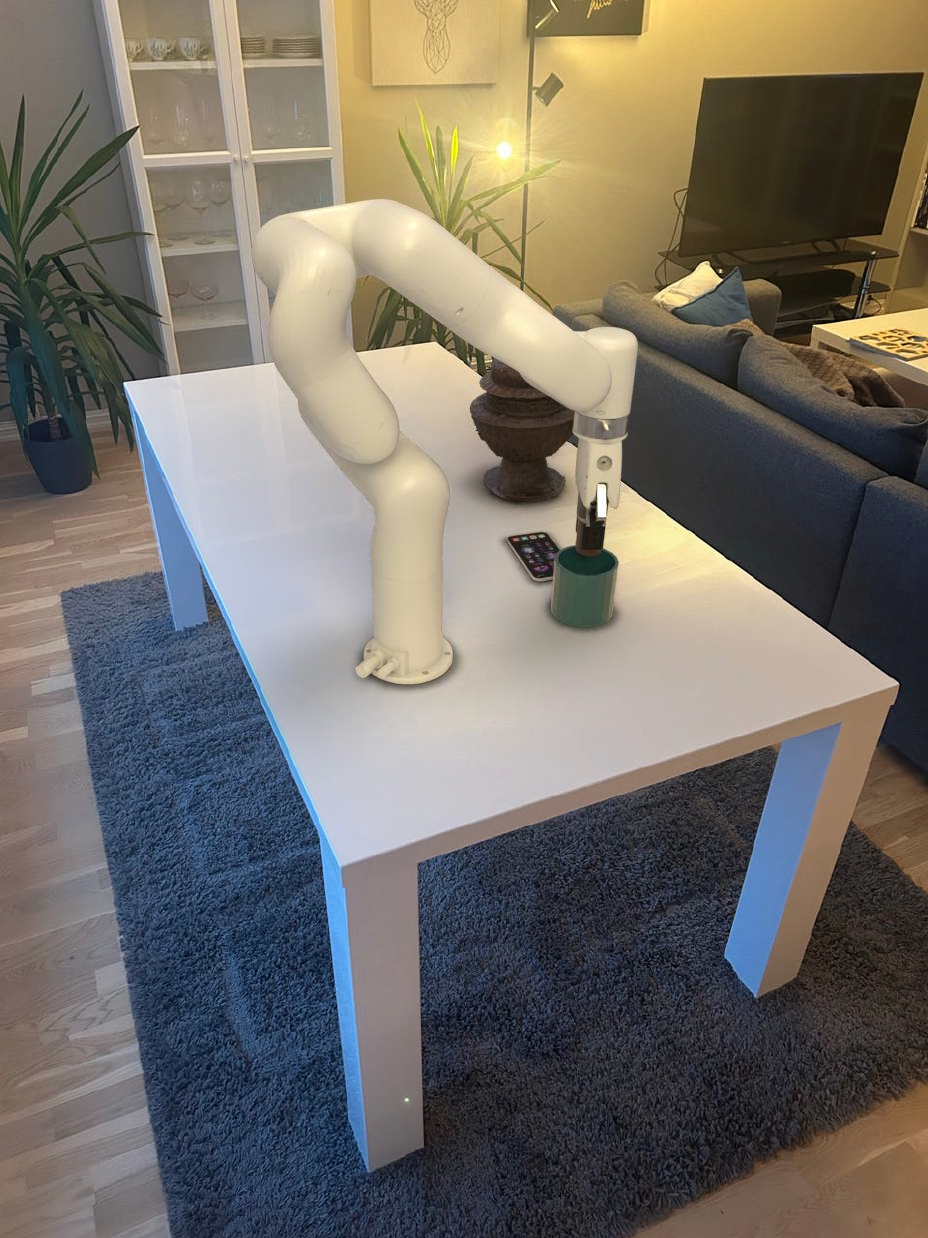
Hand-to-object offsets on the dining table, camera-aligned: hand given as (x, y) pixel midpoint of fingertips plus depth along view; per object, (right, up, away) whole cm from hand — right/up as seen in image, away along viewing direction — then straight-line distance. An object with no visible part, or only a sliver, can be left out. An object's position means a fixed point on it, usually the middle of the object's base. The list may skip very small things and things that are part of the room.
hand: (589, 539), depth 139 cm
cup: (0, -10, +7) cm, 12 cm away
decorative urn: (-8, +13, +43) cm, 46 cm away
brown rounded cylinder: (0, -1, +1) cm, 2 cm away
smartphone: (-6, -1, +20) cm, 21 cm away
